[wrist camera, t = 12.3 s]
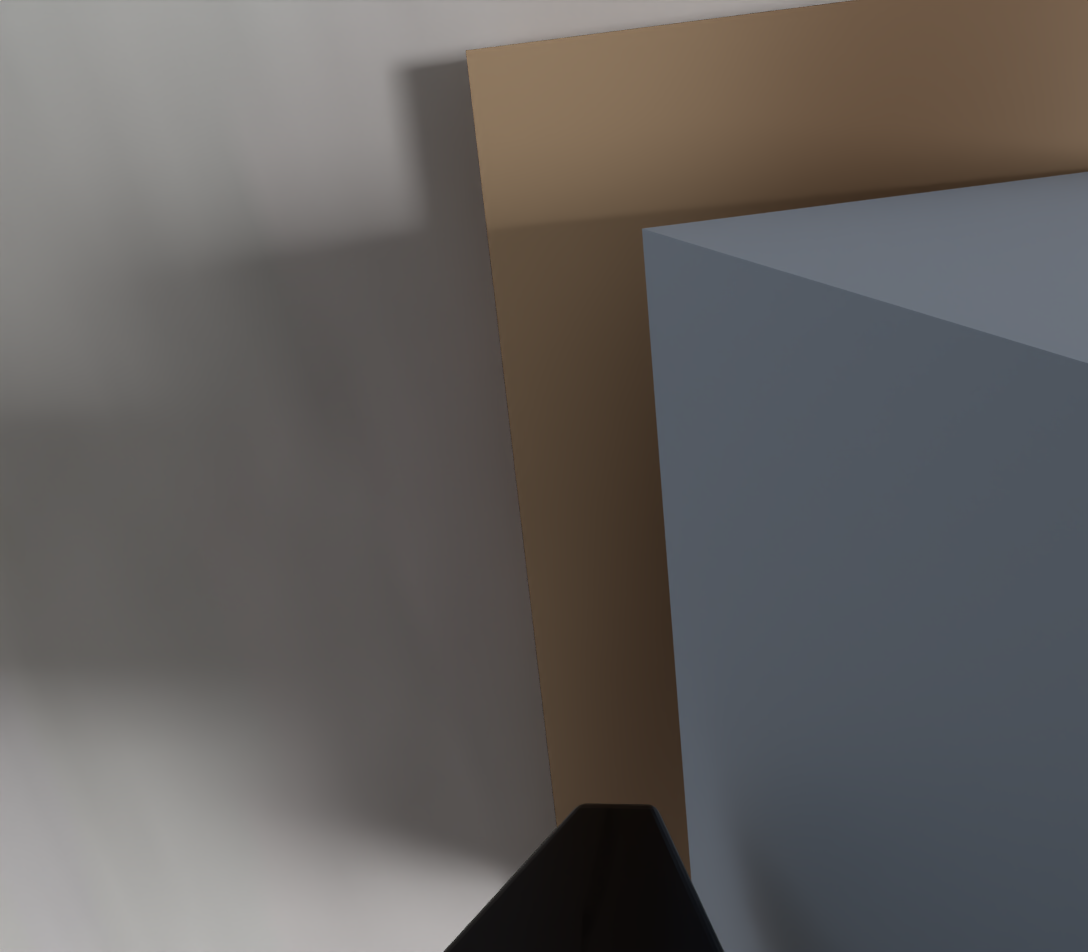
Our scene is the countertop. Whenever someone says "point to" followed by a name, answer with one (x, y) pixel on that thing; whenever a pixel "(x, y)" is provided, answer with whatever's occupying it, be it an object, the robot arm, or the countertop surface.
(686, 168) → the shelf
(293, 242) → the countertop surface
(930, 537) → the grey rectangular block
